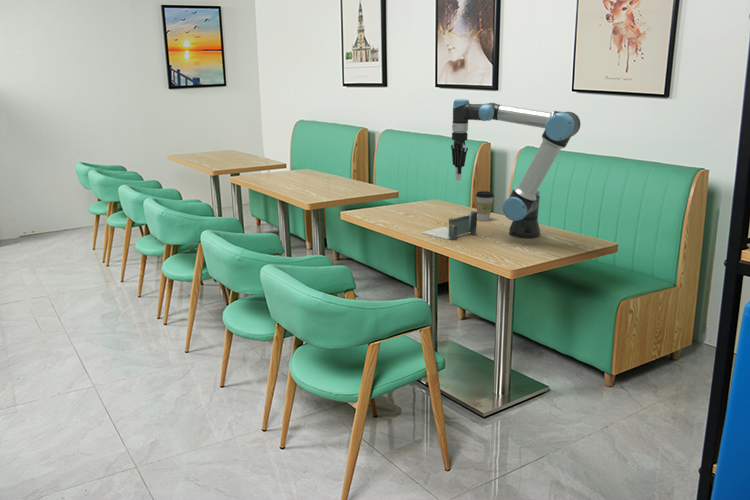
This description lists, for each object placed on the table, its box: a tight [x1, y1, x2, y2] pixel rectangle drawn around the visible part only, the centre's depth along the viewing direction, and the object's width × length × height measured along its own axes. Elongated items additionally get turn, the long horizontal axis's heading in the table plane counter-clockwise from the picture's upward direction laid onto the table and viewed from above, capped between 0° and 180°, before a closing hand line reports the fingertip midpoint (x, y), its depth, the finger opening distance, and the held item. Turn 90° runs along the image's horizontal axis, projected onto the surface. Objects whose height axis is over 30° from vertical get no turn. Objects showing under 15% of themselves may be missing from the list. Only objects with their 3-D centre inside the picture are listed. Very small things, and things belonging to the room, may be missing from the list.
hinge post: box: [469, 210, 478, 236], centre depth 308 cm, size 3×3×12 cm
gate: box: [448, 213, 471, 237], centre depth 305 cm, size 16×2×10 cm, turn 134°
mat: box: [420, 226, 470, 240], centre depth 312 cm, size 17×17×1 cm
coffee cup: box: [475, 190, 495, 222], centre depth 340 cm, size 10×10×15 cm
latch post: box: [450, 224, 458, 241], centre depth 299 cm, size 2×3×7 cm
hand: (457, 180), depth 308 cm, fingers closed
